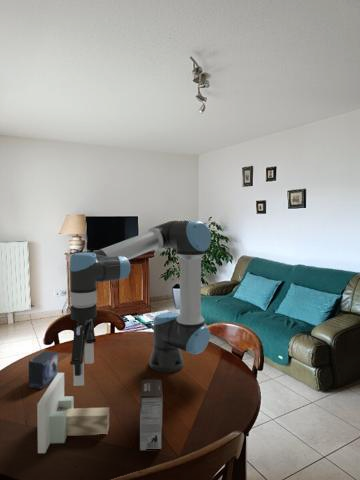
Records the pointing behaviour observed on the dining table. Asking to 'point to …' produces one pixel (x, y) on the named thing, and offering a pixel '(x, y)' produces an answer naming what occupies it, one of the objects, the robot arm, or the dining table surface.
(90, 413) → the rail
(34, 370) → the small box
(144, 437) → the coffee box
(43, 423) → the base plate with tabs
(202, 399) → the dining table surface
